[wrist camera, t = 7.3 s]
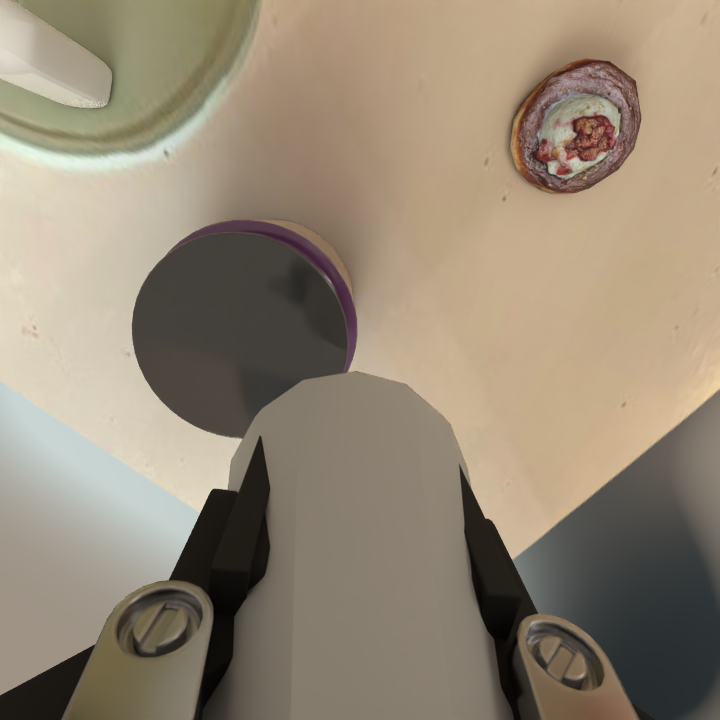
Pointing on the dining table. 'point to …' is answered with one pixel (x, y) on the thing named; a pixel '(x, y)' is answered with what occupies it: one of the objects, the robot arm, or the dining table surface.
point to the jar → (242, 320)
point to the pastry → (576, 127)
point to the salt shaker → (359, 566)
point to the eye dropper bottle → (49, 61)
